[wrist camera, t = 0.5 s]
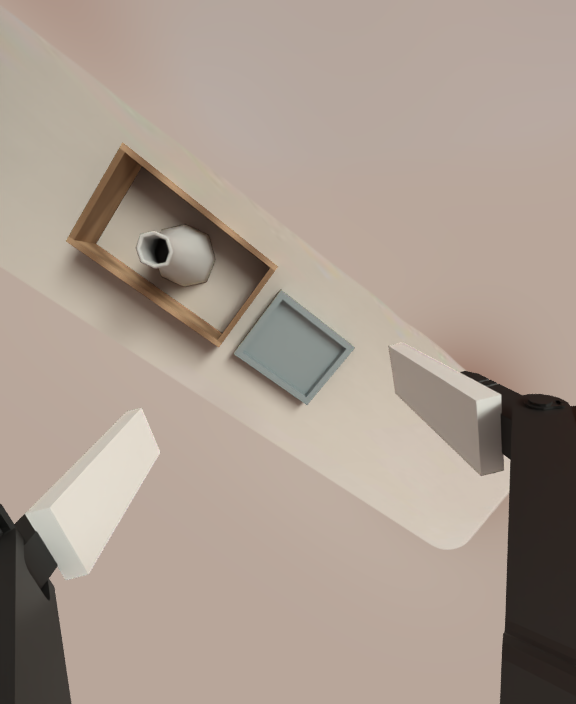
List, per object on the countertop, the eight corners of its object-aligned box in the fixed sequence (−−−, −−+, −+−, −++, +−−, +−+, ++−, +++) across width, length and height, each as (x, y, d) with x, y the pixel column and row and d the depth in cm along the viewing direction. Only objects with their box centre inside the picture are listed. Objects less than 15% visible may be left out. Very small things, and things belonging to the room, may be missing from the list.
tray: (235, 350, 39) (233, 353, 37) (280, 289, 37) (281, 290, 36) (305, 399, 41) (307, 405, 40) (351, 344, 40) (354, 347, 38)
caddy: (88, 244, 35) (65, 241, 31) (140, 157, 33) (122, 142, 29) (224, 340, 39) (218, 347, 35) (277, 267, 37) (278, 266, 33)
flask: (214, 289, 37) (194, 295, 27) (155, 283, 36) (113, 286, 27) (217, 228, 35) (196, 211, 25) (154, 220, 35) (109, 200, 25)
